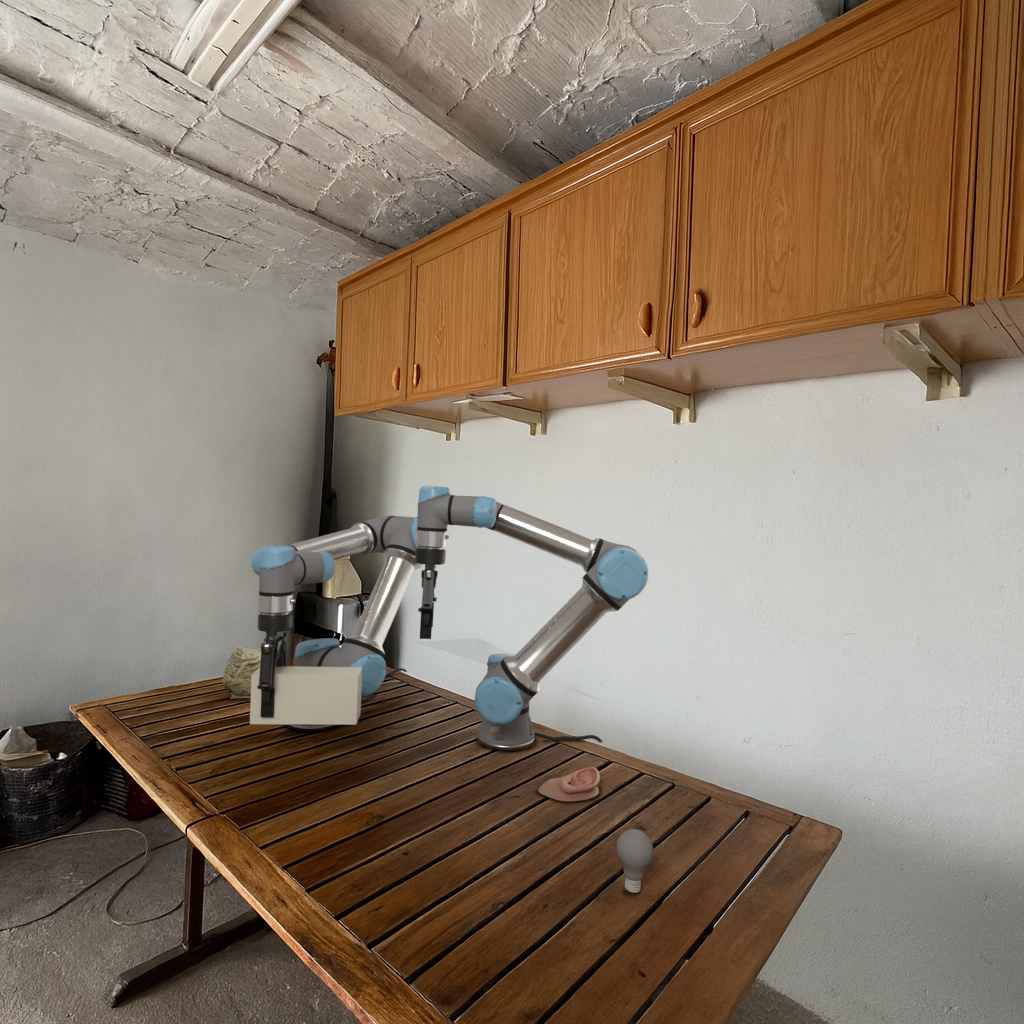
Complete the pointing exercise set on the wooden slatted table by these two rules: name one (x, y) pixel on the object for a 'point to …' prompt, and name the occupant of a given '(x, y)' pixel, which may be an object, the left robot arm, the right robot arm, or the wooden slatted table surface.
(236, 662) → the fossil
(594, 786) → the anatomical model
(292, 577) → the left robot arm
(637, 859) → the light bulb
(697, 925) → the wooden slatted table surface
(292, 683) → the box
